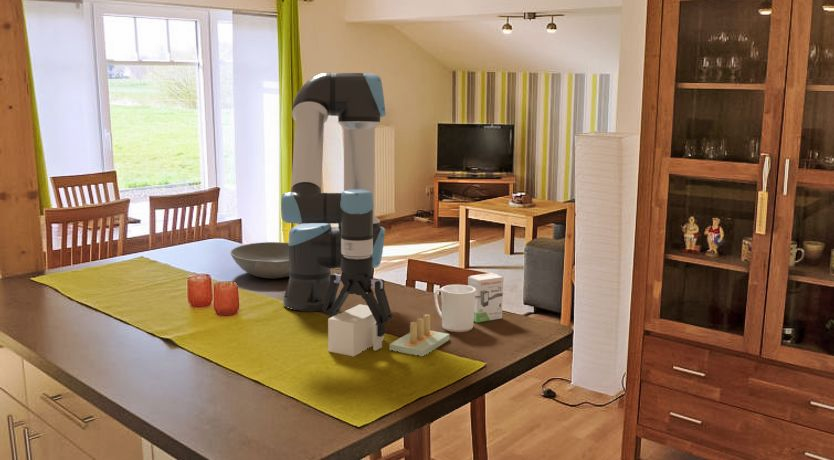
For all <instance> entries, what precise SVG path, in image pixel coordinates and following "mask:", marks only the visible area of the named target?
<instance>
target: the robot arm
mask: <svg viewBox="0 0 834 460" xmlns="http://www.w3.org/2000/svg"><path fill="white" fill-rule="evenodd" d="M291 108H292V109H291V110H292V112H291V116H292V119H293V120H294V123H295V124H294V138H293V139H294V140H293V154H292V167H291V168H292V170H291V171H292V172H291V188H290V191H289V192H284V193H283V194H282V195H281V200H280V201H281V202H280V203H281V204H280V209H281V210H280V211H281V212H280V213H281V219H282V221H283V222H284V223H286V224H287V223H288V224H295V225H294V226H292V228H291V229H290V230H289V231H288V232H289V233H288V242H287V243H288V246H289V279H288V282H287V284H286V289H285V292H284V295H283V306H284V305H285V306H286V307H289V308H292V309H295V310H301V311H300V312H320V311H322V312H324V313H327V314H328V315H329V318H331V317H333V316H335V315H337V314H339V313H341V312H340V310H341V308H342V306H343V305H344V304H345V302H346V300H347V299H348V297H349V295H356V296H361V298H362V299H363V300H364V301H365V303H366V305H367V306H368V307H369V309H370V311H371V313H372V315H373V317H374V318H375V320H376V323H374V324H373V346H372V349H373V350H372V351H378V350H379V349H381V348H383V340H382V336H383V335H384V336H385V334H386V327H385V326H386V323H388V322H390V321H391V320H392V321H393V315H392V314H393V313H392V310H391V308H390V304H389V300H388V296H387V294H386V291H385V280H384V279H382V278H381V279H374V277H373V269H375V268H378V267H379V266H380V264H381V262H382V257H383V251H384V245H385V233H386V229H385V227H383V226H381V220H380V219H379V218H378V217H377V216H376V215H375V194H376V193H375V192H376V191H375V182H376V181H375V180H376V179H375V178H376V177H375V176H376V175H375V174H376V173H375V172H376V170H375V167H376V166H375V163H376V162H375V161H376V160H375V159H376V158H375V157H376V155H375V154H376V152H375V150H376V149H375V147H376V141H375V139H376V137H375V136H376V128H377V127H378V126H379V125H380V124H381V117H382V118H383V117H385V116H386V104H385V96H384V88H383V82H382V78H381V77H380V76H379V75H378V74H377V73H368V72H367V73H365V72H322V73H319V74H316V75H314V76H313V77H311V78H310V79H308V80H307V81H305V83H304V84H303V85H302V87H300V89H299V90H298V92H297V94H296V96H295V97H294V100H293V103H292V107H291ZM329 116H331V117H333V116H334V117H338V119H337V120H338V121H337V123H338V124H339V125H340V127H342V130H343V191H342V192H322V184H323V160H324V159H323V158H324V157H323V156H324V138H325V137H324V135H325V134H324V132H325V130H324V129H325V123H327V121H328V118H329ZM332 224H337V225H338V226H336V227H335V226H334V227H333V226H332ZM332 269H334V270H335V269H339V270H340V271H341V274H340V273H339V272H335V273H332V271H331V270H332ZM340 283H342V285H343V287H342V288H341V290H340V293H339V294H338V295H337V293H338V289H339V288H340V287H339V286H340ZM372 286H373V287H372ZM373 289H374V291H373ZM286 307H285V308H286ZM295 310H294V311H295Z"/></svg>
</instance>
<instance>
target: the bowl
mask: <svg viewBox="0 0 834 460" xmlns="http://www.w3.org/2000/svg"><path fill="white" fill-rule="evenodd" d="M288 243H289V242H280V241H269V242H268V241H267V242H266V241H265V242H255V243H248V244H242V245H239V246H236V247H234V248H233V249H231V250H230V255H231V257H232V259H233V260H234V262H235V263H236V265H237V266H238V267H239V268H241V269H242V270H243V271H245V272H246V273H248V274H250V275H252V276H254V277H256V278H263V279H273V280H274V279H281V278H283V279H284V278H288V277H289V246H288Z"/></svg>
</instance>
